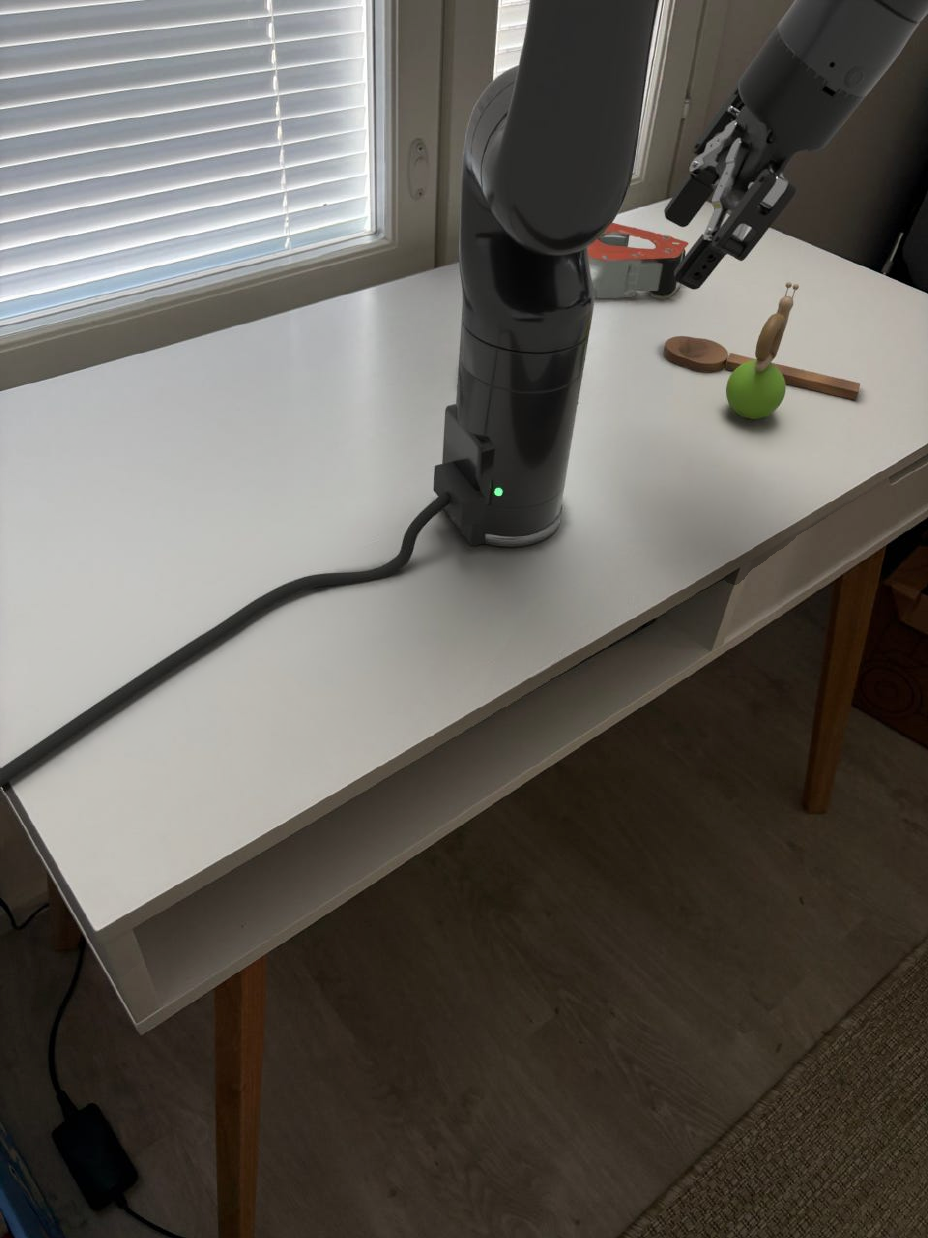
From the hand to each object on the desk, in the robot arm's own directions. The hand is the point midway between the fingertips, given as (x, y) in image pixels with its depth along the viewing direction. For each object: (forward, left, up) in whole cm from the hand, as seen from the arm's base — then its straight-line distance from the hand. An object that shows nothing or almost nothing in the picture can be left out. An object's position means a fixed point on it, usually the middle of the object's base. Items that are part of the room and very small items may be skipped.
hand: (678, 250), depth 78 cm
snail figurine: (+15, +2, -19) cm, 24 cm away
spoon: (+20, +7, -19) cm, 29 cm away
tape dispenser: (+14, +29, -19) cm, 37 cm away
